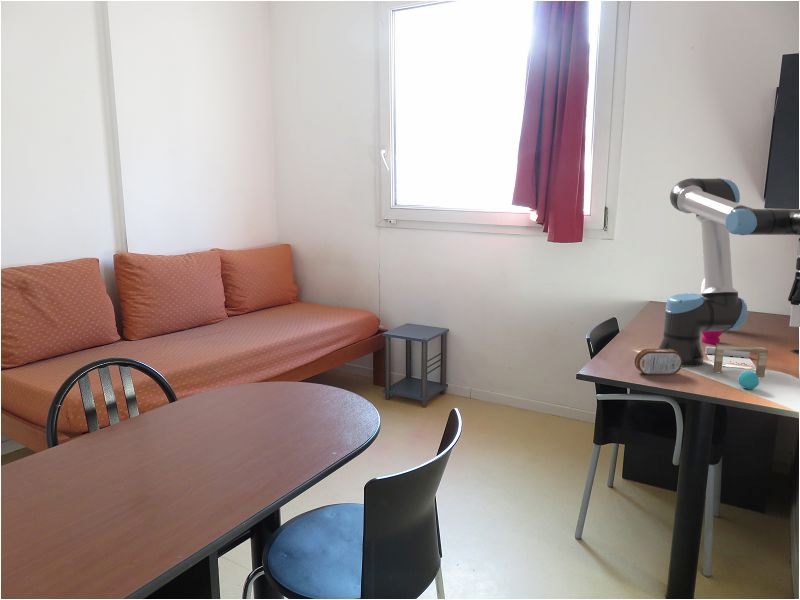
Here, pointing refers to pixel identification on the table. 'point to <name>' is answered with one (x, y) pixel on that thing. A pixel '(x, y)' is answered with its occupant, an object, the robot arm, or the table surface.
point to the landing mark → (733, 360)
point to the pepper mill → (711, 337)
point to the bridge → (760, 350)
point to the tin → (658, 361)
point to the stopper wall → (728, 352)
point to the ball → (748, 379)
